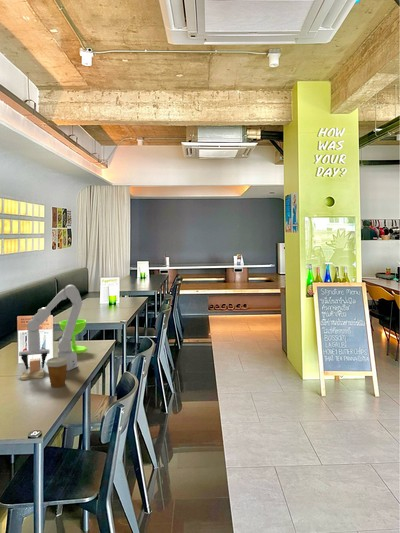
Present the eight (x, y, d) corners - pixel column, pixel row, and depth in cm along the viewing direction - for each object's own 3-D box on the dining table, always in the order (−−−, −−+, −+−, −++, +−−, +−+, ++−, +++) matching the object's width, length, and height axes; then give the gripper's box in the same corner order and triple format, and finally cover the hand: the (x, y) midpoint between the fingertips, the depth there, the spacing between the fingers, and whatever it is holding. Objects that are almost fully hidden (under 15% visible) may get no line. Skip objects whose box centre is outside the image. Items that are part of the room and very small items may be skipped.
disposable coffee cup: (72, 382, 191) (72, 357, 191) (59, 389, 182) (58, 363, 182) (56, 380, 195) (55, 356, 194) (42, 387, 186) (41, 361, 185)
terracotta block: (40, 369, 212) (39, 358, 212) (39, 372, 208) (38, 360, 208) (31, 370, 211) (30, 359, 211) (30, 373, 207) (29, 361, 207)
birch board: (44, 373, 206) (44, 370, 206) (42, 377, 199) (42, 374, 199) (23, 375, 203) (23, 372, 203) (21, 379, 196) (20, 376, 196)
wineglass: (76, 345, 260) (75, 318, 259) (92, 349, 250) (91, 320, 249) (54, 351, 247) (53, 322, 246) (71, 355, 238) (69, 325, 236)
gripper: (17, 345, 203) (18, 372, 204) (48, 343, 207) (49, 369, 208) (19, 342, 210) (20, 367, 211) (49, 339, 214) (50, 365, 215)
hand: (35, 368), depth 210 cm, fingers open, 7 cm apart
